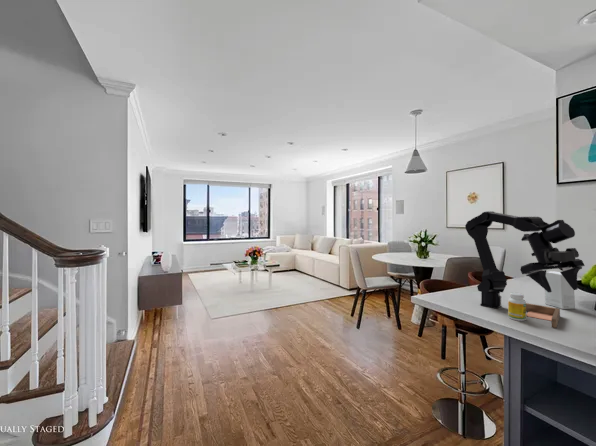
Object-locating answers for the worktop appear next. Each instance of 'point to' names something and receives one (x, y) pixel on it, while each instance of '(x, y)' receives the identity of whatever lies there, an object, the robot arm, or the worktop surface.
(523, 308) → the supplement bottle
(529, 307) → the walnut corner walls
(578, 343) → the worktop surface
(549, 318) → the terracotta mat
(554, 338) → the worktop surface
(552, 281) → the skincare box
